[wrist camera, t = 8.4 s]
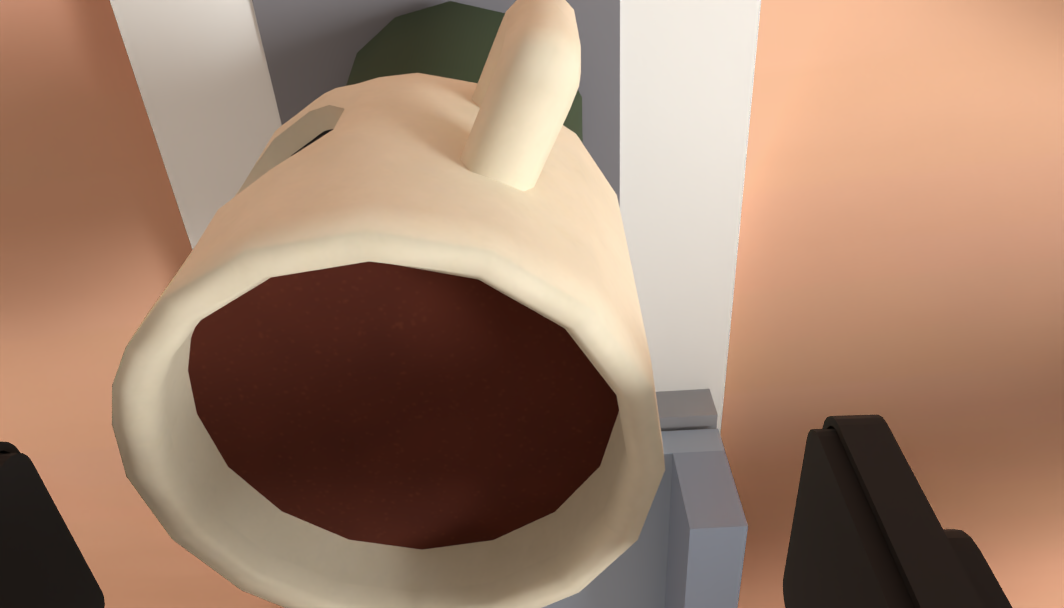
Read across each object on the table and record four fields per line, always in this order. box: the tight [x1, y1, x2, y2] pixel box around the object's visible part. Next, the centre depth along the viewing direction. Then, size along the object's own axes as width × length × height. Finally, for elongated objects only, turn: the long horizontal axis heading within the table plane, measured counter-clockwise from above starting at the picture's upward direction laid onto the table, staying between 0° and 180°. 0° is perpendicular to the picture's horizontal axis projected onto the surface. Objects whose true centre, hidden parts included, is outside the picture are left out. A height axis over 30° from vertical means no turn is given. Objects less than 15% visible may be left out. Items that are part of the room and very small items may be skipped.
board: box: [110, 0, 761, 433], centre depth 24 cm, size 16×32×6 cm, turn 3°
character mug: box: [112, 0, 665, 608], centre depth 16 cm, size 11×7×13 cm, turn 157°
